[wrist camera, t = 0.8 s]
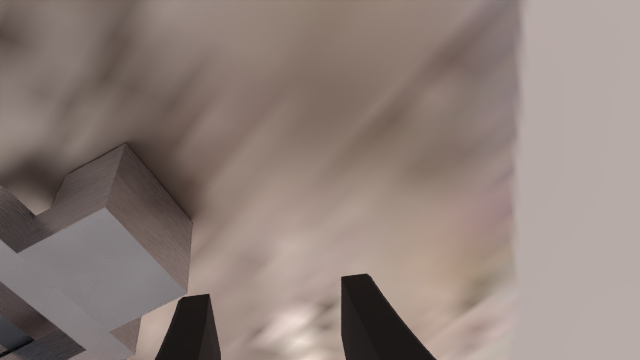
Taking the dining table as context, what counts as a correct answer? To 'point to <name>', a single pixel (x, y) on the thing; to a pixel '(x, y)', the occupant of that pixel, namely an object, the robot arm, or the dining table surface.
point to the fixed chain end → (19, 322)
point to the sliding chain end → (96, 258)
